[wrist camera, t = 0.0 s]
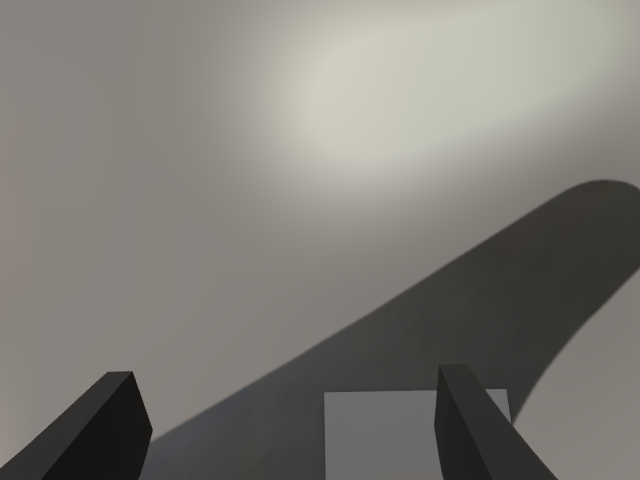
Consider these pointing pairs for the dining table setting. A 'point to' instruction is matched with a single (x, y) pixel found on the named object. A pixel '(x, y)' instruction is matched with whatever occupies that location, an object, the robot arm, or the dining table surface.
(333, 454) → the mat
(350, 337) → the dining table surface
